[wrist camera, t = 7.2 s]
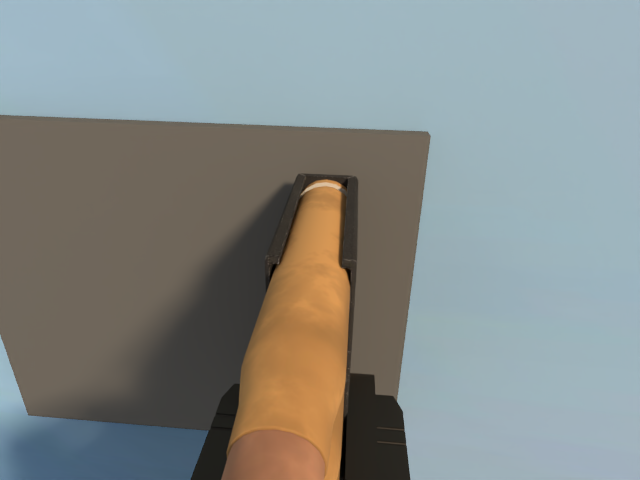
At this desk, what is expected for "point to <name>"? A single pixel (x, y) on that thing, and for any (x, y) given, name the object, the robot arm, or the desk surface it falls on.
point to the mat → (180, 256)
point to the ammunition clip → (301, 341)
